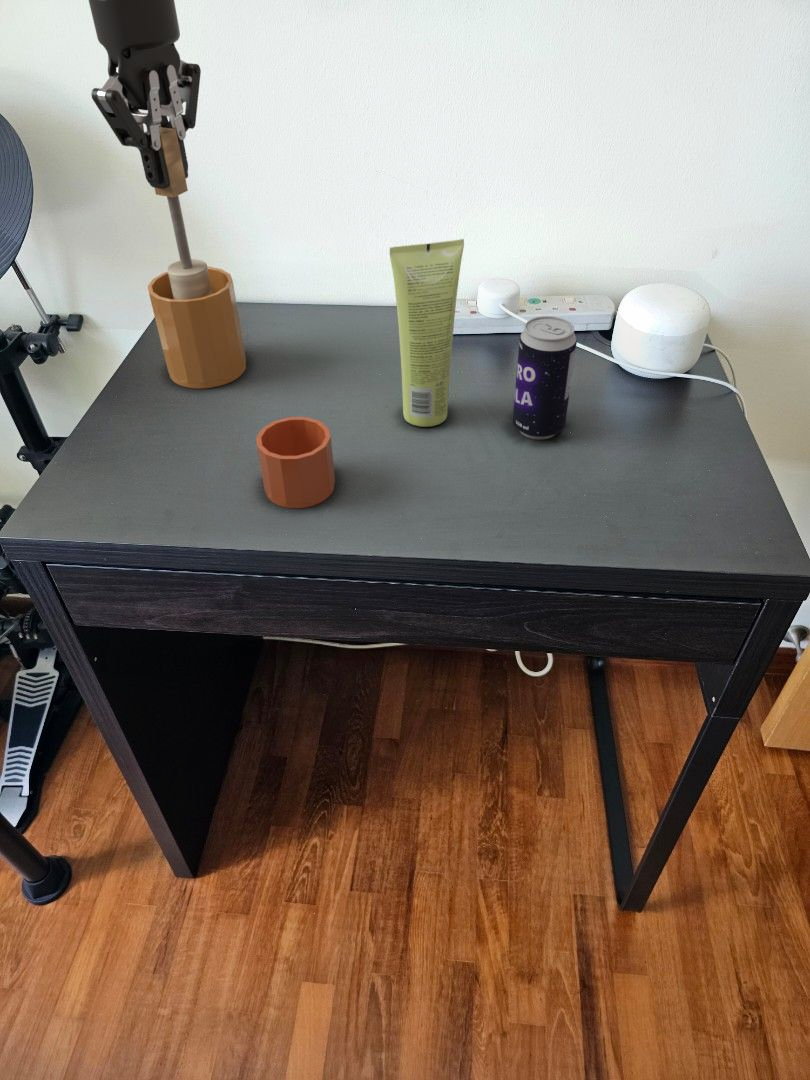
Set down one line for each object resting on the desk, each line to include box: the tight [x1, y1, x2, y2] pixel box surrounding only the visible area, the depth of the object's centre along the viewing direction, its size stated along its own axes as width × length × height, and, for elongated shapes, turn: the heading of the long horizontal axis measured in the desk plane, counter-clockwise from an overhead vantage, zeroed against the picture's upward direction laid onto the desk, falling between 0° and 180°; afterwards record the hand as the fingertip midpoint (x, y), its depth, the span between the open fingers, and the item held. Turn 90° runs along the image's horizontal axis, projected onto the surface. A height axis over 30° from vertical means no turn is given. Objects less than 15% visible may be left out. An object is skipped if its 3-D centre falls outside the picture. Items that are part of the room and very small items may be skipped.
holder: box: [255, 416, 336, 509], centre depth 77 cm, size 7×7×6 cm
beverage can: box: [512, 315, 578, 440], centre depth 82 cm, size 6×6×12 cm
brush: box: [144, 127, 212, 300], centre depth 86 cm, size 4×4×20 cm
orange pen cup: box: [147, 265, 247, 390], centre depth 94 cm, size 9×9×11 cm
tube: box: [389, 238, 465, 428], centre depth 82 cm, size 6×5×20 cm
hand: (169, 182), depth 83 cm, fingers closed on brush, 2 cm apart
